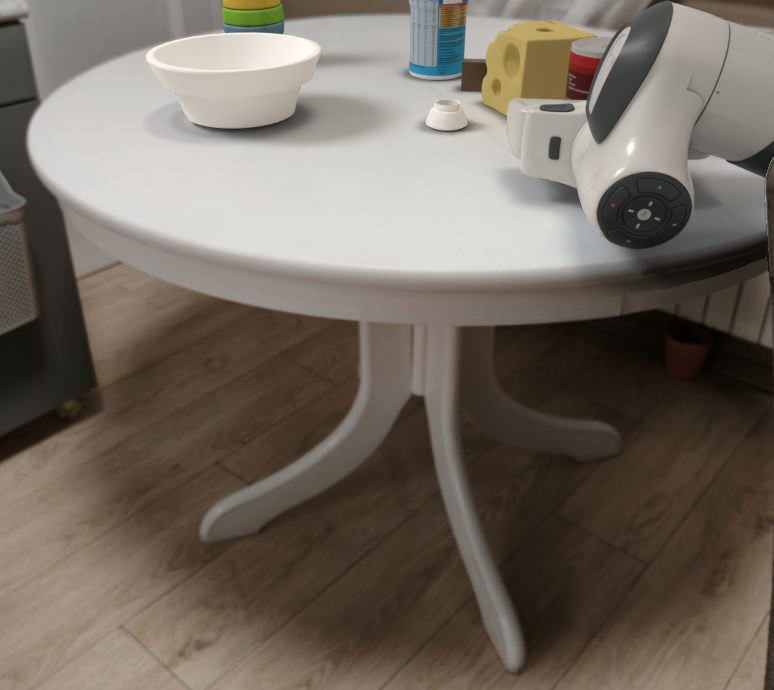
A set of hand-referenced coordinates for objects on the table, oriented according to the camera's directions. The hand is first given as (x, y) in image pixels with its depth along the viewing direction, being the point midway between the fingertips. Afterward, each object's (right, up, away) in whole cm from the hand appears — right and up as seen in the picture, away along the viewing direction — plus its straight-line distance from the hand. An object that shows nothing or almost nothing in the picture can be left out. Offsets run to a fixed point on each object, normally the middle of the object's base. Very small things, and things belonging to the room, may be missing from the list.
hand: (601, 104), depth 86 cm
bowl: (-41, +3, +16) cm, 44 cm away
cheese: (-4, +4, +18) cm, 19 cm away
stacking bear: (-43, +18, +40) cm, 61 cm away
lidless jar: (-16, +1, +12) cm, 20 cm away
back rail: (-1, +9, +25) cm, 27 cm away
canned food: (+1, -3, +6) cm, 7 cm away
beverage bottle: (-16, +14, +33) cm, 40 cm away
